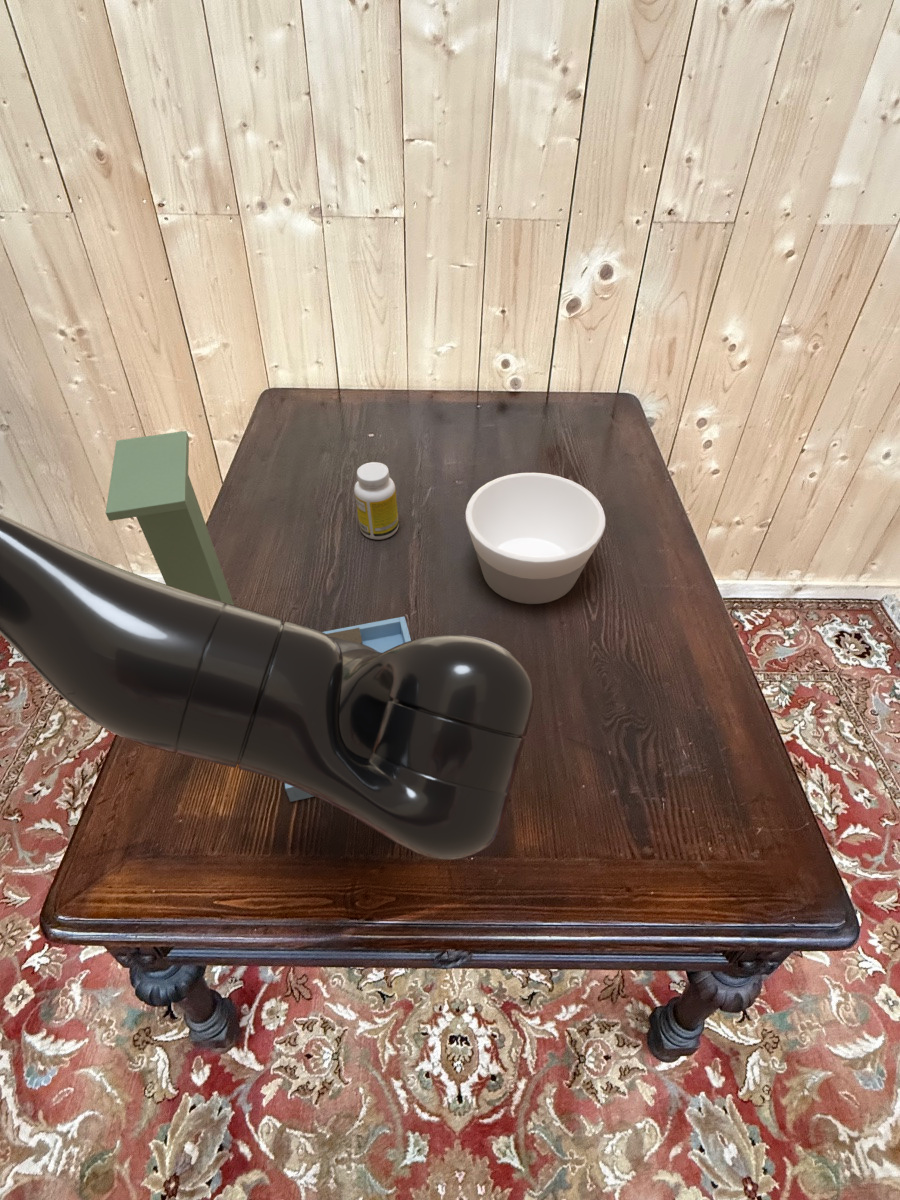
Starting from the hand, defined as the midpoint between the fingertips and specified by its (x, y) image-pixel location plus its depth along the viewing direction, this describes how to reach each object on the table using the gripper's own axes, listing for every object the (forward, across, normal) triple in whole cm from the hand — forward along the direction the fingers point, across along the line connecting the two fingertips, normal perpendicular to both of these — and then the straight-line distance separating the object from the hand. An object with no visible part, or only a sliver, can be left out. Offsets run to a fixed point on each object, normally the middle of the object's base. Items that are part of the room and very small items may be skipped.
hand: (275, 666), depth 62 cm
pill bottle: (+40, -28, -14) cm, 51 cm away
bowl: (+22, -44, -6) cm, 50 cm away
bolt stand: (+31, -2, +4) cm, 31 cm away
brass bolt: (+17, -14, +8) cm, 23 cm away
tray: (+19, -14, +9) cm, 25 cm away
